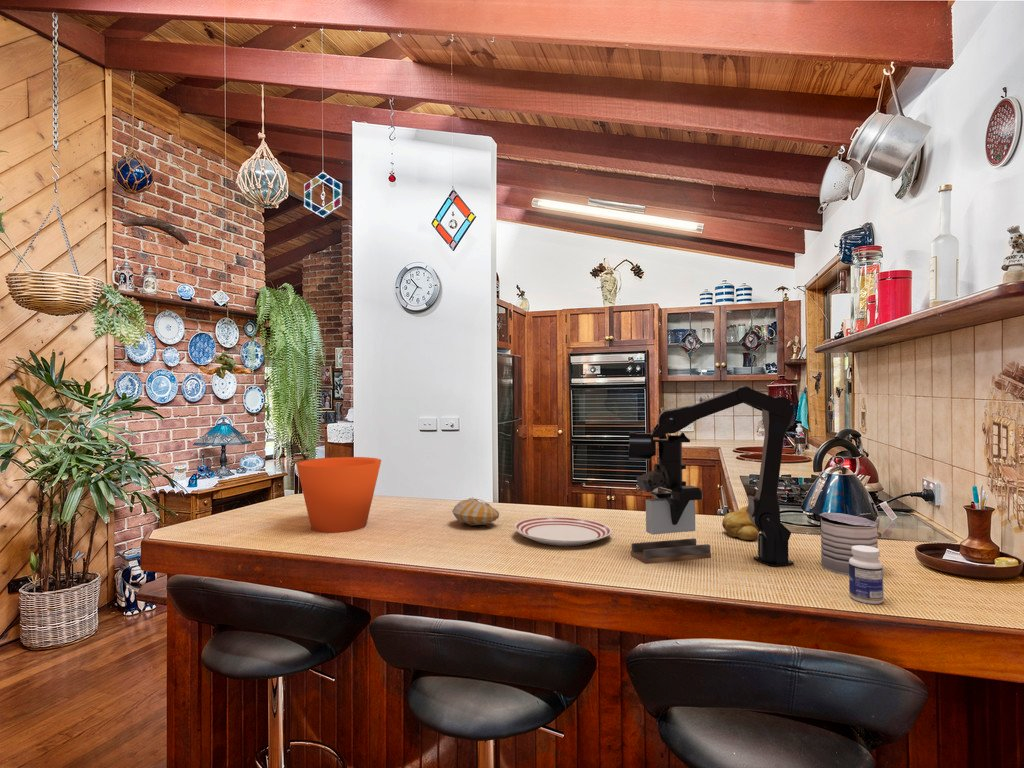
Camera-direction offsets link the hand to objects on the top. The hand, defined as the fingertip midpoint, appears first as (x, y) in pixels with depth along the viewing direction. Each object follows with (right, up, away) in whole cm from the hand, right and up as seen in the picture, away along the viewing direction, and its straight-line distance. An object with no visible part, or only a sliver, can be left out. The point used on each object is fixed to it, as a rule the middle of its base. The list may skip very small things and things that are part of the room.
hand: (670, 523), depth 137 cm
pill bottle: (+30, -8, -29) cm, 42 cm away
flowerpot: (-92, -9, +32) cm, 98 cm away
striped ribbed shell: (-50, -9, +36) cm, 63 cm away
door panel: (0, -2, 0) cm, 2 cm away
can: (+38, -8, -10) cm, 40 cm away
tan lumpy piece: (+26, -9, +20) cm, 33 cm away
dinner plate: (-25, -9, +19) cm, 33 cm away
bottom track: (0, -8, 0) cm, 8 cm away
